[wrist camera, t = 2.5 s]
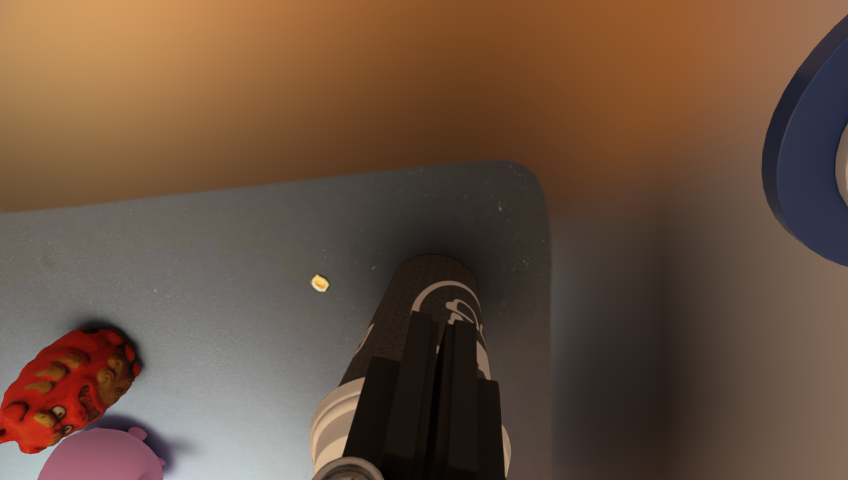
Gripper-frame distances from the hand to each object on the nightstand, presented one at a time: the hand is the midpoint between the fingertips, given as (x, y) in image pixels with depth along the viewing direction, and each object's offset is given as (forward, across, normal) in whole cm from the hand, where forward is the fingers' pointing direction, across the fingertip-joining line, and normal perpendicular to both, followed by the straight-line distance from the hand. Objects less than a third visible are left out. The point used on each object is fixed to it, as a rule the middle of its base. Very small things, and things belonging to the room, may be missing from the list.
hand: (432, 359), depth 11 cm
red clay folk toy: (+18, +27, +24) cm, 41 cm away
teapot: (+18, +27, +38) cm, 50 cm away
